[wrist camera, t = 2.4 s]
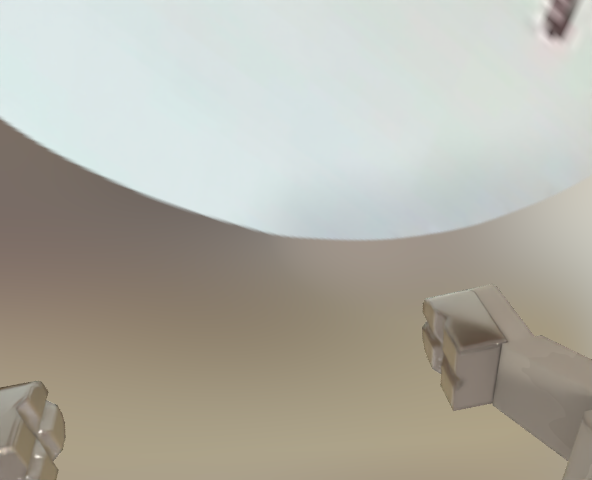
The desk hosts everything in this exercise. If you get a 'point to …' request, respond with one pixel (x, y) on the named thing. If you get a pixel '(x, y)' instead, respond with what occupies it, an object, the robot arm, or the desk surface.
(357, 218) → the desk surface
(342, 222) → the desk surface
